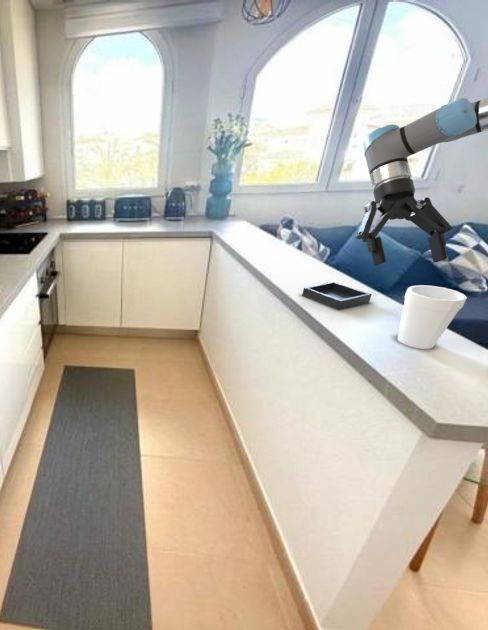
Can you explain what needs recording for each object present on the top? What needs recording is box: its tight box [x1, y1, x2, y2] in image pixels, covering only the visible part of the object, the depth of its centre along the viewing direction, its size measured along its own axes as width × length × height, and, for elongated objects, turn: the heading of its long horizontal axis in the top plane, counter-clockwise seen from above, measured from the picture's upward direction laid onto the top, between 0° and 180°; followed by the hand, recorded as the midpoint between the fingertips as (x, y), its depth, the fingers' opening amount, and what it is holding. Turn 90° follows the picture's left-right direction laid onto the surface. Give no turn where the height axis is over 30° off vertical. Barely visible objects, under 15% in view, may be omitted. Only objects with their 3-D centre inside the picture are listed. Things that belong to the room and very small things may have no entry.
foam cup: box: [397, 284, 468, 350], centre depth 80 cm, size 10×9×13 cm
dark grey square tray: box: [301, 281, 373, 311], centre depth 107 cm, size 12×12×3 cm
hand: (409, 262), depth 85 cm, fingers open, 13 cm apart
